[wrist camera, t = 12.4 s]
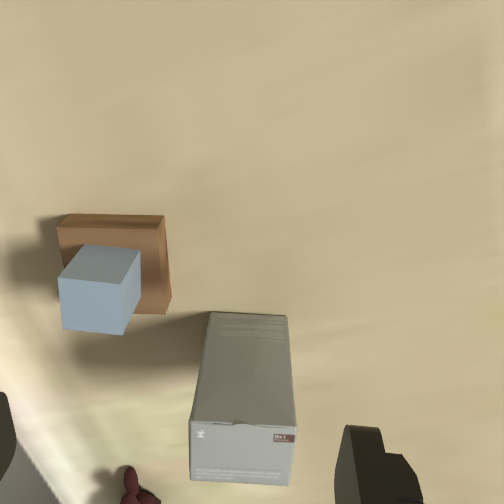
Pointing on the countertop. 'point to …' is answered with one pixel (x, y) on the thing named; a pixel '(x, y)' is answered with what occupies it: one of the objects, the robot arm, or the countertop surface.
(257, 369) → the skincare box
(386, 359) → the countertop surface
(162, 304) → the walnut base
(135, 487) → the icecream
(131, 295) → the blue block
